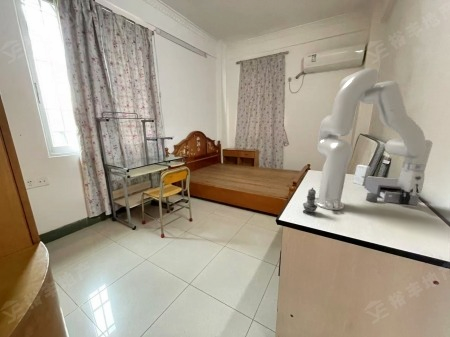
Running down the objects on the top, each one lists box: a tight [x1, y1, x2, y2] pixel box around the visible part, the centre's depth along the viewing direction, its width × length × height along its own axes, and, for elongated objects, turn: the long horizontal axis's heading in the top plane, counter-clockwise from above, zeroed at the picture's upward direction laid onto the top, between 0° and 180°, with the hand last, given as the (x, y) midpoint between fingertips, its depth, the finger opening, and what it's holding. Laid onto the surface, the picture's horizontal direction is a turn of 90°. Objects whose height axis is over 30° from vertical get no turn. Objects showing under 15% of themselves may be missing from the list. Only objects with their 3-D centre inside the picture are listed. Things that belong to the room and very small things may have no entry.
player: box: [364, 176, 411, 199], centre depth 104 cm, size 16×15×7 cm
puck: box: [365, 192, 378, 203], centre depth 95 cm, size 4×4×4 cm
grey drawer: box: [379, 189, 420, 206], centre depth 98 cm, size 16×13×5 cm
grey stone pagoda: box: [302, 187, 318, 217], centre depth 81 cm, size 6×6×12 cm
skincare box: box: [352, 164, 371, 186], centre depth 119 cm, size 6×4×12 cm
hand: (403, 203), depth 89 cm, fingers closed
